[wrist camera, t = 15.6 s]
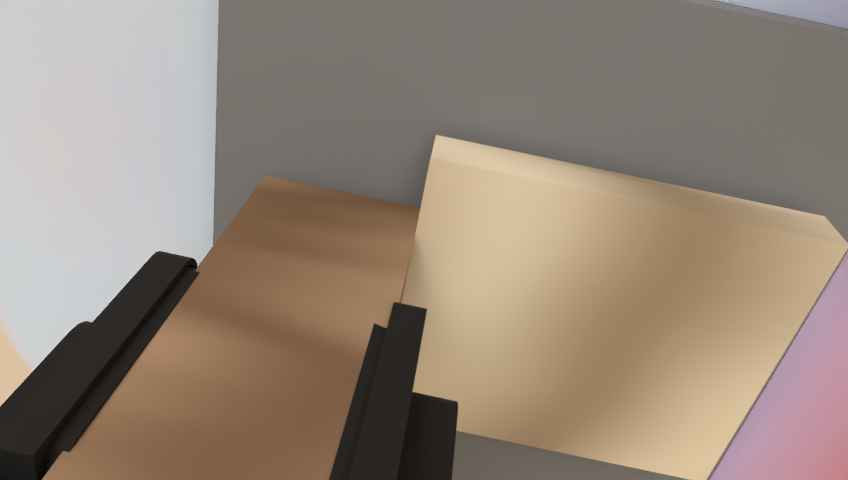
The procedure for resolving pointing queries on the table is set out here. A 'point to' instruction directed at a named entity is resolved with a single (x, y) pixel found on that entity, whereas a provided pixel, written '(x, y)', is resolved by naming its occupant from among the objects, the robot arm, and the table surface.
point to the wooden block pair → (471, 320)
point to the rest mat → (533, 114)
